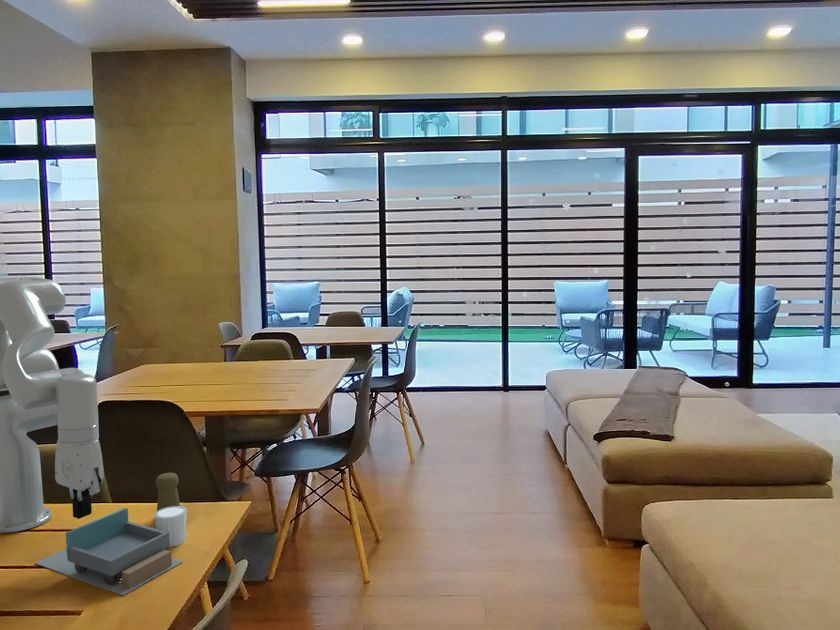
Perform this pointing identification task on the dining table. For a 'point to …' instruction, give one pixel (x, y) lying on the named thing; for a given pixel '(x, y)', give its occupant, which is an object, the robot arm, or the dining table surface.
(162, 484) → the olive pepper shaker
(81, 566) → the cart
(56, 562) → the track
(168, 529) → the white tapered cup
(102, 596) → the dining table surface
